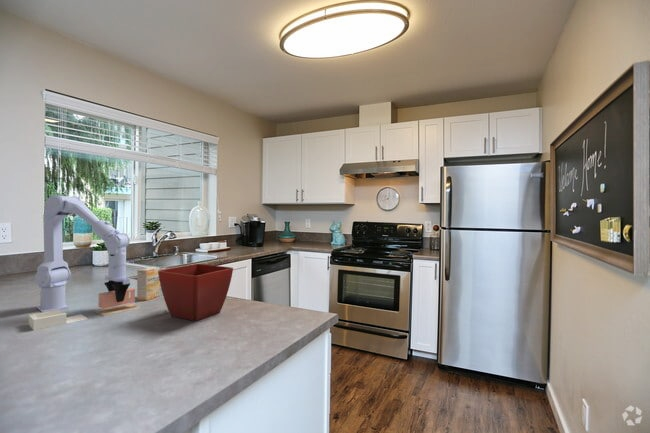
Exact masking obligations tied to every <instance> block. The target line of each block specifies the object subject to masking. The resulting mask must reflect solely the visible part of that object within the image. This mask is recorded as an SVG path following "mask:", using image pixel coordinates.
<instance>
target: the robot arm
mask: <svg viewBox="0 0 650 433" xmlns="http://www.w3.org/2000/svg"><path fill="white" fill-rule="evenodd" d="M44 201H45V203H44V204H45V205H44V209H45V210H44V213H43V217H42V218H43V222H42V223H43V257H44V258H43V259H44V261H43V262H42V263H40V265H38V266H37V270H36V273H35V277H34V281H35V283H36V285H37V286H38V288H39V289H40V292H39V294H40V296H39V297H40V298H39V299H40V300H39V301H40V302H39V304H40V305H39V306H38V305H37V306H36V309H38V310H39V311H40V313H42V312H47V311H53V310H58V309H61V310H64V309H69V308H70V306H69V305H67V304H66V285H67V284H68V281H69V280H70V279H71V275H72V273H71V270H70V269H69V263H68V262H67V261H65V260H64V254H63V252H64V251H63V248H64V247H63V246H64V245H63V242H64V241H63V220H64V219H66V217H68V216H70V215H72V214H75V215H76V216H77V217H79V218H80V219H82V220H83V221H85V222H86V223H87V224H89V225H90V226H91V227H92V228H91V231H92V232H93V233H94V234H95V235H96V236H97V237H98V238H100V239H101V240H102V241H104V242H103V243H104V246H105V248H106V250H107V252H106V253H107V254H108V257H107V258H108V262H107V264H108V266H107V267H108V268H107V270H108V272H107V273H108V274H105V278H104V281H106V282H104V283H103V284H104V286H105V287H106V289H107V292H110V291H115V294H116V300H117V302H122V301H124V298H125V294H126V291H127V289H128V288H130V286H131V281H130V278H129V277H128V276H127V247H129V245H130V242H131V241H130V237H129V236H128V235H127V233H124V232H120V230H119V229H116V228H115V227H114V226H112V225H111V222H110V221H108V220H104V219H103V220H100V219H99V217H98V216H96V215H95V214H94V213H93V212H92V210H91V209H89V208H88V207H87V206H86V204H85V201H84V200H82V199H81V198H80V197H79V196H74V195H72V196H70V195H57V194H53V195H51V196H49V197H48V198H46V200H44Z"/></svg>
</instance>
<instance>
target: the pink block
mask: <svg viewBox="0 0 650 433" xmlns="http://www.w3.org/2000/svg"><path fill="white" fill-rule="evenodd" d="M135 302H136V289H135V288H131V287H128V289H127V291H126V294H125V298H124V301H122V302H117V300H116V294H115V291H110V292H109V291H105V292H101V293H100V292H99V293H98V308H101V309H106V308H111V307H116V306H121V305H126V304H133V303H135Z"/></svg>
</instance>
